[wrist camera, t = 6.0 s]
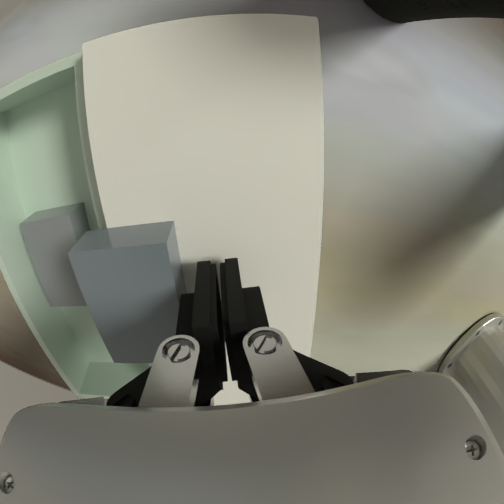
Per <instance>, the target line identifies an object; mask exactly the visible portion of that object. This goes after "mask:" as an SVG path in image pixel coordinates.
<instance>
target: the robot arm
mask: <svg viewBox="0 0 504 504" xmlns="http://www.w3.org/2000/svg"><path fill="white" fill-rule="evenodd" d="M224 260H225V262H223V263H220V284H221V297H220V290H219V283H218V276H217V268H216V263H214V264H211V261H210V260H209V261H199V262H197V268H196V279H195V291H194V293H187V294H181V298H180V305H179V312H178V320H177V328H176V336H172V337H169V338H168V339H166V340H164V341H163V342H162V343H161V344H160V346H159V348H158V350H157V353H156V355H155V358H154V361H153V364H152V366H151V367H149V368H148V369H147V370H145V371H144V372H142V373H141V374H140V375H138V376H137V377H135V378H134V379H133V380H131V381H130V382H128V383H127V384H126V385H124V386H123V387H121V388H120V389H119V390H117V391H116V392H114V393H113V394H112V395H111V396H110V397H109V399H105V397H104V396H102V397H96V398H88V399H80V400H72V401H63V402H59V403H46V404H38V405H34V406H30V407H27V408H24V409H22V410H20V411H19V412H17V413H16V414H15V415H14V416H13V417H12V419H11V421H10V422H9V424H8V426H7V428H6V431H5V433H4V435H3V438H2V441H1V443H0V504H504V317H503V316H502V315H501V314H500V313H493V314H490V315H488V316H486V317H485V318H483V319H481V320H480V321H479V322H478V323H476V324H475V325H474V326H473V327H472V328H471V329H469V330H468V331H467V332H466V333H465V334H464V335H463V336H462V337H461V338H460V340H459V341H458V342H457V343H456V344H455V345H454V347H453V348H452V349H451V350H450V352H449V353H448V354H447V356H446V357H445V359H444V361H443V362H442V364H441V366H440V369H439V372H438V373H436V372H412V371H409V370H396V371H384V372H369V373H356V374H355V376H348V375H347V374H345V373H344V372H342V371H339V370H337V369H335V368H332V367H330V366H328V365H326V364H323V363H321V362H319V361H317V360H314V359H312V358H310V357H308V356H305V355H303V354H301V353H299V352H297V351H295V350H293V349H292V347H291V345H290V343H289V341H288V339H287V338H286V336H285V335H284V333H283V332H281V331H280V330H278V329H275V328H272V327H269V323H268V319H267V315H266V311H265V306H264V302H263V298H262V294H261V290H260V287H259V286H256V287H247V288H242V285H241V278H240V272H239V265H238V258H229V259H224ZM225 343H226V348H225ZM226 349H227V355H228V361H229V366H230V372H231V377H232V381H237V383H238V388H239V389H240V390H242V391H244V392H245V393H247V394H249V400H250V402H248V403H239V404H228V405H216V406H214V396H215V395H216V394H217V393H218V392H219V391H220V390H223V382H227V381H228V375H227V362H226Z"/></svg>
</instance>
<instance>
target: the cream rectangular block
mask: <svg viewBox="0 0 504 504" xmlns="http://www.w3.org/2000/svg"><path fill="white" fill-rule="evenodd" d="M83 79H84V94H85V106H86V115H87V124H88V132H89V139H90V146H91V153H92V159H93V165H94V170H95V176H96V181H97V186H98V191H99V195H100V200H101V204H102V209H103V213H104V217H105V221H106V225H107V228H114V227H122V226H130V225H139V224H148V223H157V222H166V221H174V224H175V230H176V236H177V242H178V248H179V254H180V260H181V265H182V271H183V276H184V281H185V286H186V291H187V293H194V291H195V279H196V268H197V262H199V261H209V260H210V261H211V264H214V263H216V268H217V276H218V283H219V290H220V297H221V284H220V263H223V262H225V260H224V259H229V258H238V265H239V272H240V278H241V285H242V288H247V287H256V286H259V287H260V290H261V294H262V298H263V302H264V306H265V311H266V315H267V319H268V323H269V327H272V328H275V329H278V330H280V331H281V332H283V333H284V335H285V336H286V338H287V339H288V341H289V343H290V345H291V347H292V349H293V350H295V351H297V352H299V353H301V354H303V355H305V356H308V357H310V353H311V345H312V337H313V328H314V319H315V310H316V299H317V289H318V277H319V264H320V249H321V233H322V212H323V181H324V111H323V82H322V63H321V48H320V35H319V23H318V17H312V16H302V15H288V14H226V15H212V16H201V17H193V18H185V19H178V20H172V21H166V22H160V23H155V24H150V25H145V26H141V27H137V28H132V29H128V30H125V31H121V32H117V33H114V34H110V35H107V36H104V37H100V38H97V39H94V40H91V41H88V42H85V43H83ZM225 348H226V343H225ZM226 362H227V375H228V381H227V382H223V390H220V391H219V392H218V393H217V394H216V395H215V396H214V406H216V405H228V404H239V403H248V402H250V400H249V394H247V393H245V392H244V391H242V390H240V389H239V388H238V383H237V381H232V377H231V372H230V366H229V361H228V355H227V349H226Z"/></svg>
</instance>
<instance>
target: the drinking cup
mask: <svg viewBox="0 0 504 504" xmlns="http://www.w3.org/2000/svg"><path fill="white" fill-rule="evenodd" d="M364 1H365V2H366V3H367V5H368V6H369V7H370V8H371V9H372V10H374V11H375V12H376V13H378V14H379V15H380V16H382V17H384V18H386V19H388V20H390V21H393V22H398V23H406V22H413V21H421V20H431V19H443V18H466V17H482V18H504V0H364Z"/></svg>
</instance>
